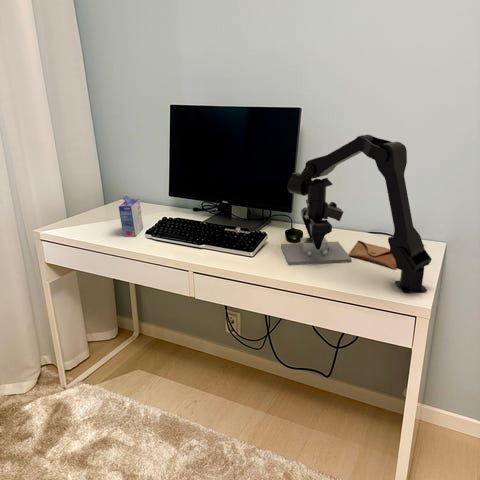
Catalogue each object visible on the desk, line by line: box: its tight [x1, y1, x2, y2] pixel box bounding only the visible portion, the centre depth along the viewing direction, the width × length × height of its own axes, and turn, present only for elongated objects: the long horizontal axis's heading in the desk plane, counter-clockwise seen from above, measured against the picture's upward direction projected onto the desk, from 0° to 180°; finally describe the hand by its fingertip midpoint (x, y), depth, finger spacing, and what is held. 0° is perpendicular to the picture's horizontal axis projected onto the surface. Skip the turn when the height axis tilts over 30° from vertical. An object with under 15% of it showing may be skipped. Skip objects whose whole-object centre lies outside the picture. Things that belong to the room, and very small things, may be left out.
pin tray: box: [280, 241, 352, 266], centre depth 145 cm, size 16×20×2 cm
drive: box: [300, 236, 329, 255], centre depth 144 cm, size 5×8×4 cm, turn 93°
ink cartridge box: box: [118, 194, 144, 237], centre depth 168 cm, size 10×6×14 cm, turn 174°
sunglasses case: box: [347, 240, 398, 271], centre depth 140 cm, size 18×7×7 cm, turn 47°
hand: (314, 244), depth 144 cm, fingers open, 9 cm apart
